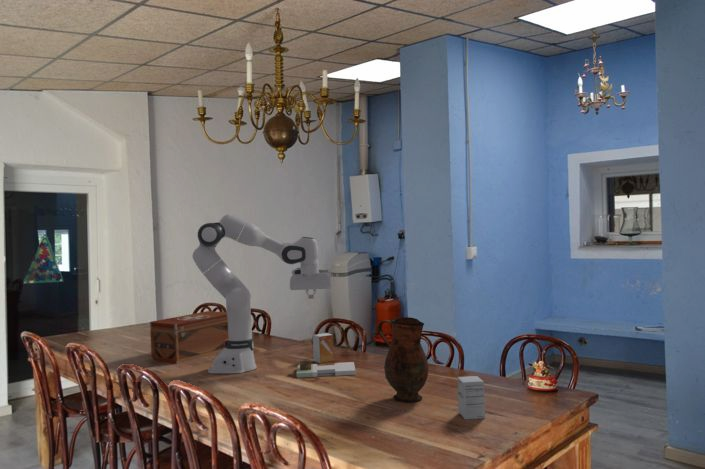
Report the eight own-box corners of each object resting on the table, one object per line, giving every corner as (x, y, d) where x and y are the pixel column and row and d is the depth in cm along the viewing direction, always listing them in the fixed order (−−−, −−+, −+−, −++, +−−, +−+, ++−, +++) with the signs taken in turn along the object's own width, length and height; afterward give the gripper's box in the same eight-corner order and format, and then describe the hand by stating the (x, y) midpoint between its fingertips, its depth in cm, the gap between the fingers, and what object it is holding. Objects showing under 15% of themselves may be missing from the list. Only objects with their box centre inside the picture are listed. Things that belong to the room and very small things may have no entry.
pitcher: (413, 408, 216) (410, 324, 215) (367, 398, 230) (364, 319, 229) (439, 396, 228) (436, 317, 227) (394, 388, 242) (391, 313, 242)
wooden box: (236, 348, 334) (234, 312, 334) (177, 364, 301) (175, 324, 300) (210, 345, 346) (209, 310, 346) (150, 360, 312) (149, 322, 312)
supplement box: (458, 413, 208) (456, 376, 208) (479, 411, 209) (477, 375, 209) (463, 419, 201) (462, 382, 201) (485, 418, 201) (484, 380, 201)
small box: (320, 363, 290) (318, 336, 290) (313, 361, 296) (312, 334, 295) (334, 360, 295) (333, 334, 295) (327, 358, 300) (326, 332, 300)
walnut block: (300, 370, 270) (299, 361, 270) (300, 367, 275) (299, 358, 275) (311, 369, 270) (311, 360, 270) (311, 366, 275) (310, 358, 275)
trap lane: (296, 377, 265) (296, 373, 265) (298, 369, 281) (297, 364, 281) (355, 374, 266) (355, 370, 266) (353, 366, 282) (353, 362, 282)
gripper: (331, 268, 296) (332, 296, 296) (289, 270, 295) (290, 298, 295) (331, 269, 290) (332, 298, 290) (288, 271, 289) (290, 300, 289)
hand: (311, 298), depth 292 cm, fingers closed
